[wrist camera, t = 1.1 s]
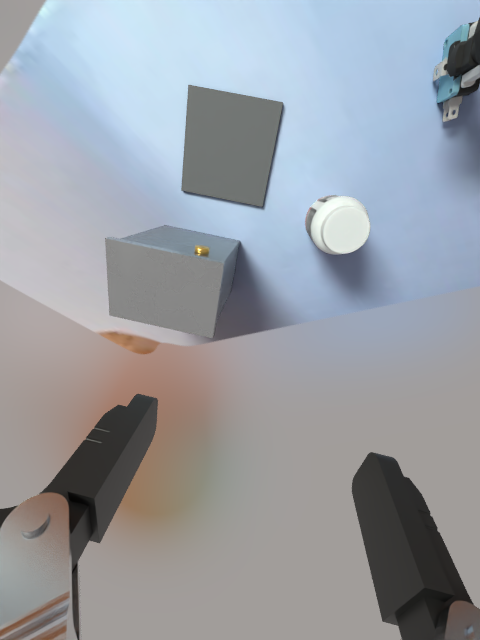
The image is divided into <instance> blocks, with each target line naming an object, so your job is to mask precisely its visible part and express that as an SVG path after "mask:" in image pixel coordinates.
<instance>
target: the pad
mask: <svg viewBox="0 0 480 640" xmlns="http://www.w3.org/2000/svg"><path fill="white" fill-rule="evenodd" d="M282 106H283V102H278V101H273V100H267V99H262V98H256V97H251V96H246V95H240V94H235V93H230V92H224V91H219V90H214V89H208V88H203V87H197V86H192V85H188V100H187V115H186V130H185V145H184V160H183V174H182V189H181V190H182V191H187V192H192V193H197V194H202V195H207V196H211V197H216V198H221V199H226V200H231V201H236V202H241V203H246V204H251V205H256V206H261V207H262V206H263V201H264V196H265V191H266V186H267V181H268V176H269V171H270V166H271V161H272V156H273V151H274V146H275V141H276V136H277V131H278V126H279V121H280V116H281V111H282Z"/></svg>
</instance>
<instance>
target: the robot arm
mask: <svg viewBox="0 0 480 640" xmlns="http://www.w3.org/2000/svg"><path fill="white" fill-rule="evenodd" d="M157 406H158V400H157V398H153V397H149V396H145V395H141V394H137V395H135V396H134V398H133V399H132V400H131V402H130V403H129V405H128V406H127V407H126V406H122V405H117V406H116V407H114V408H113V409H111V410H110V411H108V412H107V413H105V414H104V415H103V417H102V418H101V419H100V421H99V422H98V423H97V424H96V426H95V428H94V429H93V430H92V431H91V432H90V433H89V435H88V436H87V437H86V440H84V441H83V442H82V443H81V445H80V446H79V447H78V449H77V450H76V451H75V452H74V454H73V455H72V456H71V458H70V459H69V460H68V461H67V463H66V464H65V465H64V466H63V468H62V469H61V470H60V472H59V473H58V474H57V475H56V477H55V478H54V479H53V480H52V482H51V483H50V484H49V485H48V486H47V488H45V489H44V490H43V491H42V492H41V493H40V494H38V495H36V496H33V497H31V498H29V499H27V500H25V501H24V502H22V503H21V504H20V505H18V506H14V507H11V508H5V509H0V640H81V611H80V578H79V558H80V556H81V555H82V553H83V551H84V549H85V547H86V545H87V543H88V542H89V540H90V541H94V542H97V543H100V542H101V540H102V538H103V536H104V534H105V532H106V530H107V528H108V526H109V524H110V522H111V520H112V518H113V516H114V514H115V512H116V510H117V508H118V506H119V504H120V503H121V501H122V499H123V497H124V495H125V493H126V491H127V489H128V486H129V485H130V483H131V481H132V479H133V477H134V475H135V473H136V471H137V469H138V467H139V465H140V463H141V462H142V460H143V458H144V456H145V454H146V452H147V450H148V448H149V446H150V444H151V442H152V439H153V437H154V434H155V430H156V422H157ZM352 494H353V498H354V502H355V507H356V511H357V516H358V520H359V524H360V528H361V532H362V536H363V541H364V545H365V549H366V554H367V558H368V562H369V566H370V570H371V574H372V579H373V583H374V587H375V591H376V596H377V600H378V604H379V608H380V613H381V617H382V621H383V622H386V623H391V624H394V625H398V626H399V630H400V633H401V637H402V638H401V639H400V640H480V609H479V608H477V607H476V606H474V604H473V603H472V601H471V599H470V597H469V595H468V593H467V591H466V589H465V586H464V584H463V582H462V580H461V578H460V576H459V573H458V571H457V569H456V567H455V565H454V563H453V561H452V558H451V556H450V554H449V552H448V550H447V548H446V545H445V543H444V541H443V539H442V537H441V535H440V533H439V532H438V531H437V526H436V524H435V522H434V520H433V518H432V517H431V516H430V511H429V509H428V507H427V505H426V502H425V500H424V498H423V496H422V494H421V493H420V492H419V490H418V489H417V488H416V486H415V485H414V484H413V483H412V481H411V480H410V479H409V478H407V477H404V476H403V474H402V472H401V469H400V467H399V465H398V462H397V461H396V460H395V459H394V458H392V457H389V456H384V455H381V454H376V453H372V452H371V453H369V454H368V455H367V457H366V459H365V460H364V462H363V463H362V465H361V467H360V468H359V469H358V471H357V473H356V474H355V476H354V478H353V483H352Z"/></svg>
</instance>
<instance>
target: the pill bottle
mask: <svg viewBox="0 0 480 640" xmlns="http://www.w3.org/2000/svg"><path fill="white" fill-rule="evenodd" d="M305 226H306V230H307V233H308V235H309V236H310V238H311V239H312V241H313V242H314V243H315V245H316V246H317V247H318V248H319V249H320V250H322V251H323V252H325V253H328V254H333V255H339V254H347V253H351V252H354V251H356V250H357V249H359V248H360V247H361V246H362V245H363V244H364V243H365V242H366V240H367V238H368V236H369V233H370V221H369V217H368V213H367V210H366V208H365V207H364V206H363V204H362V203H361V202H359V201H358V200H356V199H354V198H352V197H347V196H336V195H331V196H325V197H322V198H320V199H318V200H317V201H316V202H314V203H313V204H312V206H311V207H310V208H309V210H308V212H307V214H306V219H305Z"/></svg>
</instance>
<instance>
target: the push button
mask: <svg viewBox="0 0 480 640" xmlns="http://www.w3.org/2000/svg"><path fill="white" fill-rule="evenodd" d="M443 50H444V51H443V58H442V62H440V63H439V64H438V65H437V66H435V69H434V75H433V81H435V80H437V79H438V78H440V80H439V88H438V95H437V103H440V102H443V109H444V114H443V122H445V121H450V120H452V119H455V118H457V117H458V111H459V104H461V103H462V97H463V96H465V95H469V94H471V93H473V92H475V91H477V89H478V87H479V84H480V18H479V20H478V21H476V22H473V23H469V24H465V25H461V26H460V27H459V28H458V29H457V30H455V31H454V32H453V33H452V34H451V35H450V36H448V37H447V38H446V40H445V42H444V48H443ZM437 69H438V73H437V75H436V71H437ZM453 110H455V111H456V113H455V114H454V115H453ZM448 112H449V113H448ZM447 113H448V117H446V114H447Z"/></svg>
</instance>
